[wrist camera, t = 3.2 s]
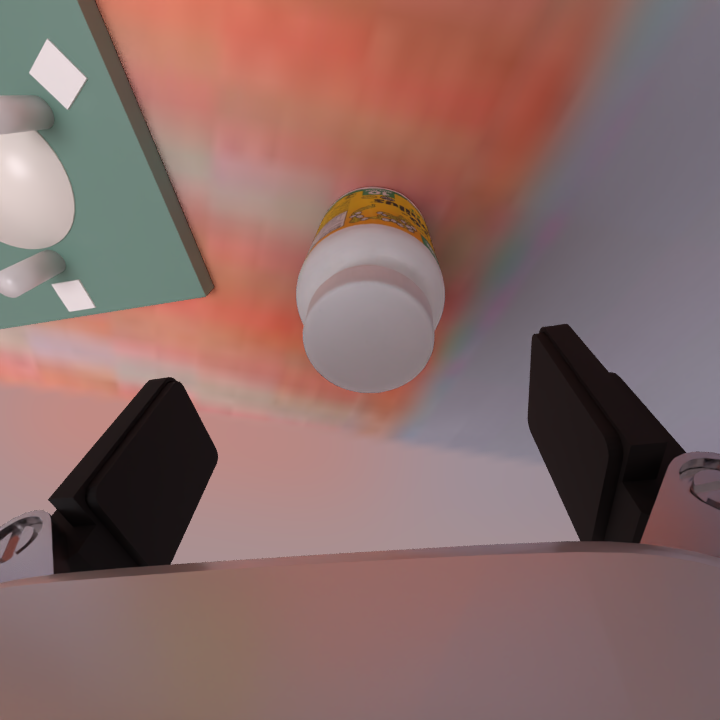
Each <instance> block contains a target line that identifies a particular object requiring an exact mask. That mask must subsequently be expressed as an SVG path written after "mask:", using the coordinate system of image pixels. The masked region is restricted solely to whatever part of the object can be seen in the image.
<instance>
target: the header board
mask: <svg viewBox="0 0 720 720" xmlns="http://www.w3.org/2000/svg"><path fill="white" fill-rule="evenodd" d="M213 288H214V286H213V283H212V281H211V278H210V276H209V274H208V271H207V269H206V266H205V264H204V262H203V259H202V257H201V255H200V252H199V250H198V247H197V245H196V243H195V240H194V238H193V235H192V233H191V231H190V228H189V226H188V223H187V221H186V219H185V216H184V214H183V211H182V209H181V207H180V204H179V202H178V199H177V197H176V195H175V192H174V190H173V187H172V185H171V183H170V180H169V178H168V175H167V173H166V171H165V168H164V166H163V163H162V161H161V159H160V156H159V154H158V151H157V149H156V147H155V144H154V142H153V139H152V137H151V135H150V132H149V130H148V127H147V125H146V123H145V120H144V118H143V115H142V113H141V111H140V108H139V106H138V103H137V101H136V99H135V96H134V94H133V91H132V89H131V87H130V84H129V82H128V79H127V77H126V75H125V72H124V70H123V67H122V65H121V63H120V60H119V58H118V55H117V53H116V51H115V48H114V46H113V43H112V41H111V39H110V36H109V34H108V31H107V29H106V27H105V24H104V22H103V19H102V17H101V15H100V12H99V10H98V7H97V5H96V3H95V0H0V329H4V328H10V327H17V326H23V325H30V324H36V323H42V322H49V321H55V320H61V319H68V318H74V317H80V316H87V315H93V314H99V313H106V312H112V311H118V310H125V309H131V308H137V307H144V306H150V305H157V304H163V303H169V302H176V301H182V300H188V299H195V298H201V297H206V296H207V295H208V294H209V293H210V291H211V290H212V289H213Z"/></svg>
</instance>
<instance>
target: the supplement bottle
mask: <svg viewBox="0 0 720 720" xmlns="http://www.w3.org/2000/svg"><path fill="white" fill-rule="evenodd" d="M296 301H297V307H298V312H299V315H300V318H301V320H302V323H303V325H304V328H303V343H304V348H305V351H306V354H307V356H308V358H309V360H310V362H311V363H312V365H313V366H314V368H315V369H316V370H317V371H318V372H319V373H320V374H321V375H322V376H323V377H324V378H325V379H327V380H328V381H330V382H331V383H333V384H335V385H337V386H339V387H341V388H344V389H346V390H350V391H354V392H360V393H379V392H385V391H389V390H392V389H395V388H398V387H400V386H402V385H405V384H406V383H408V382H409V381H411V380H412V379H413V378H415V377H416V376H417V375H418V374H419V373H420V372H421V371H422V370H423V369H424V367H425V365H426V364H427V362H428V360H429V358H430V356H431V354H432V351H433V346H434V331H435V329H436V327H437V325H438V323H439V321H440V319H441V316H442V313H443V308H444V302H445V287H444V281H443V276H442V273H441V270H440V267H439V263H438V261H437V257H436V254H435V251H434V248H433V245H432V242H431V239H430V236H429V232H428V229H427V226H426V223H425V221H424V218H423V216H422V214H421V213H420V211H419V210H418V208H417V207H416V206H415V205H414V204H413V203H412V202H411V201H410V200H409V199H408V198H407V197H405V196H404V195H402V194H401V193H399V192H396V191H394V190H391V189H386V188H379V187H363V188H358V189H355V190H352V191H350V192H348V193H346V194H344V195H343V196H341V197H340V198H339V199H338V200H337V201H336V202H335V203H334V204H333V205H332V206H331V207H330V208H329V210H328V211H327V213H326V215H325V216H324V218H323V220H322V222H321V225H320V227H319V229H318V231H317V234H316V236H315V238H314V240H313V243H312V245H311V247H310V249H309V252H308V254H307V256H306V258H305V260H304V263H303V265H302V268H301V270H300V273H299V277H298V281H297V287H296Z"/></svg>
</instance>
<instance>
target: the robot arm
mask: <svg viewBox="0 0 720 720" xmlns="http://www.w3.org/2000/svg"><path fill="white" fill-rule="evenodd" d="M528 424H529V428H530V431H531V434H532V436H533V438H534V440H535V442H536V445H537V447H538V449H539V451H540V453H541V456H542V458H543V460H544V462H545V464H546V467H547V469H548V471H549V473H550V475H551V477H552V480H553V482H554V484H555V486H556V488H557V491H558V493H559V495H560V497H561V499H562V502H563V504H564V506H565V508H566V510H567V513H568V515H569V517H570V519H571V521H572V524H573V526H574V528H575V530H576V532H577V535H578V536H579V539H580V541H578V542H576V541H574V542H573V541H572V542H570V541H566V542H541V543H518V544H495V545H474V546H457V547H440V548H424V549H406V550H389V551H374V552H373V551H372V552H355V553H339V554H323V555H308V556H292V557H277V558H262V559H246V560H232V561H217V562H202V563H187V564H174V565H170V564H171V562H172V560H173V558H174V555H175V553H176V551H177V549H178V547H179V545H180V542H181V540H182V538H183V536H184V534H185V531H186V529H187V527H188V525H189V523H190V521H191V518H192V516H193V514H194V511H195V510H196V507H197V505H198V503H199V501H200V499H201V497H202V494H203V492H204V490H205V488H206V486H207V483H208V481H209V479H210V477H211V475H212V473H213V470H214V468H215V466H216V464H217V460H218V454H217V450H216V448H215V446H214V444H213V442H212V440H211V438H210V436H209V434H208V432H207V431H206V429H205V427H204V425H203V423H202V421H201V419H200V417H199V415H198V413H197V411H196V409H195V407H194V405H193V403H192V402H191V400H190V398H189V396H188V394H187V392H186V390H185V388H184V386H183V385H182V383H180V382H178V381H176V380H175V379H174V378H171V377H168V378H161V379H153V380H149V381H148V382H147V383H146V384H145V385H144V387H143V388H142V389H141V390H140V391H139V392H138V394H137V395H136V396H135V397H134V398H133V400H132V401H131V402H130V403H129V404H128V406H127V407H126V408H125V409H124V410H123V411H122V413H121V414H120V415H119V416H118V417H117V419H116V420H115V421H114V422H113V423H112V425H111V426H110V427H109V428H108V429H107V430H106V432H105V433H104V434H103V435H102V436H101V438H100V439H99V440H98V441H97V442H96V443H95V445H94V446H93V447H92V448H91V449H90V451H89V452H88V453H87V454H86V455H85V457H84V458H83V459H82V460H81V461H80V463H79V464H78V465H77V466H76V467H75V468H74V470H73V471H72V472H71V473H70V474H69V475H68V477H67V478H66V479H65V480H64V481H63V483H62V484H61V485H60V486H59V487H58V489H57V490H56V491H55V492H54V493H53V494H52V496H51V497H50V498H49V499H48V500H49V501H50V502H51V503H52V504H53V505H54V507H56V509H57V510H56V511H55V512H54V514H53V515H52V516H51V515H50V514H49V513H48V512H45V511H43V510H36V511H31V512H28V513H24V514H22V515H20V516H18V517H15V518H13V519H11V520H10V521H8V522H7V523H5V524H3V525H2V526H0V720H720V454H718V453H713V452H699V451H696V452H690V453H686V452H685V451H684V450H683V449H682V447H681V446H680V445H679V444H678V443H677V442H676V441H675V439H674V438H673V437H672V436H671V435H670V434H669V433H668V431H667V430H666V429H665V428H664V427H663V426H662V424H661V423H660V422H659V421H658V420H657V419H656V418H655V416H654V415H653V414H652V413H651V412H650V411H649V410H648V408H647V407H646V406H645V405H644V404H643V403H642V402H641V400H640V399H639V398H638V397H637V396H636V395H635V394H634V392H633V391H632V390H631V389H630V388H629V387H628V386H627V384H626V383H625V382H624V381H623V380H622V379H621V378H620V377H619V376H618V375H617V374H616V373H612V372H610V373H609V372H608V371H607V370H606V368H605V367H604V366H603V365H602V364H601V363H600V361H599V360H598V359H597V358H596V357H595V356H594V354H593V353H592V352H591V351H590V350H589V348H588V347H587V346H586V345H585V344H584V343H583V341H582V340H581V339H580V338H579V337H578V335H577V334H576V333H575V332H574V331H573V330H572V328H571V327H570V326H569V325H568V324H562V325H555V326H548V327H542V328H541V329H540V332H539V334H534V335H533V337H532V346H531V365H530V384H529V403H528Z"/></svg>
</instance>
